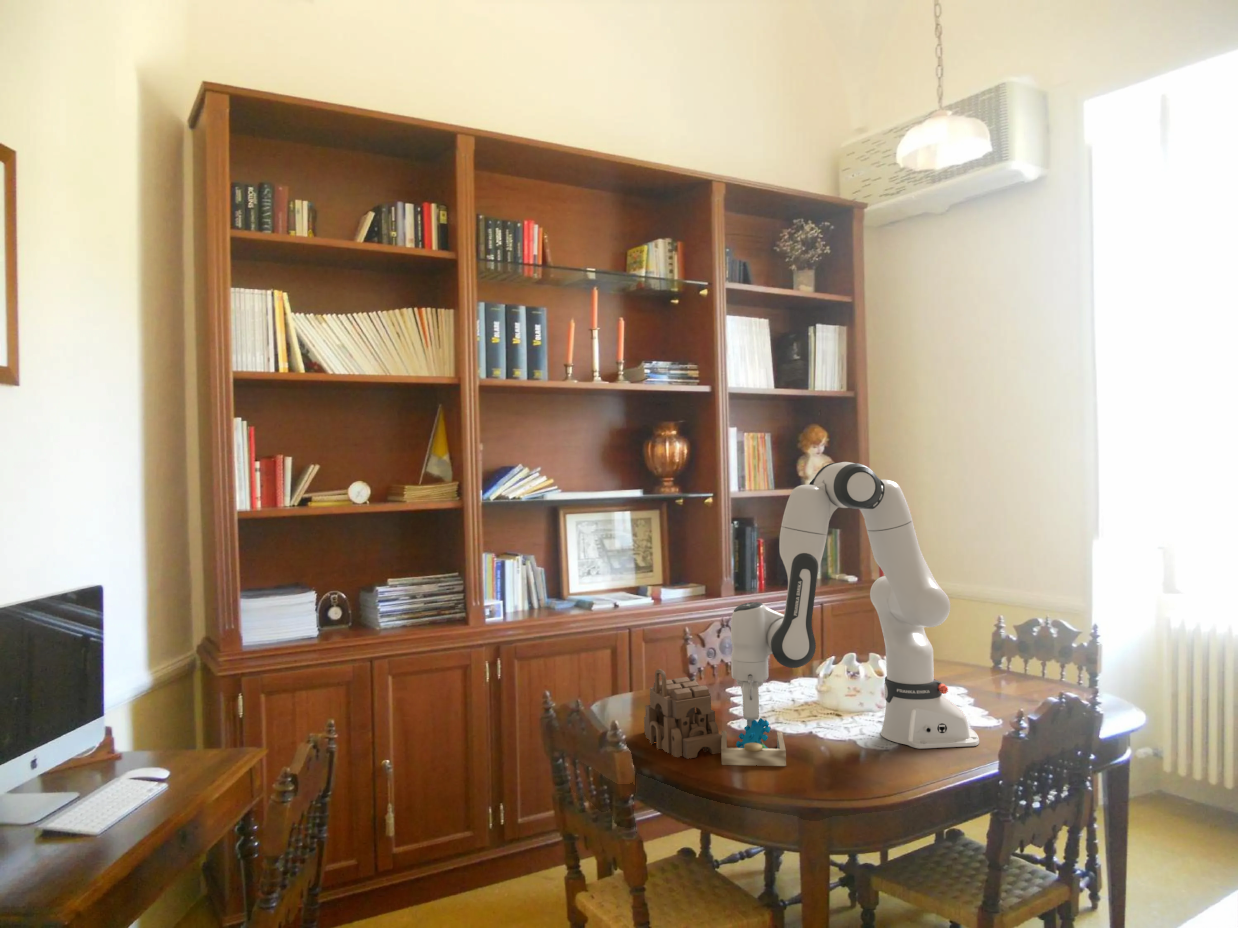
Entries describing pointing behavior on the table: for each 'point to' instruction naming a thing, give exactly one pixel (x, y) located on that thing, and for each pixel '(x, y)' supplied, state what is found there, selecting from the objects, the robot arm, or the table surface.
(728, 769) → the table surface
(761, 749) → the drawer
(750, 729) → the gear
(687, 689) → the wooden puzzle
